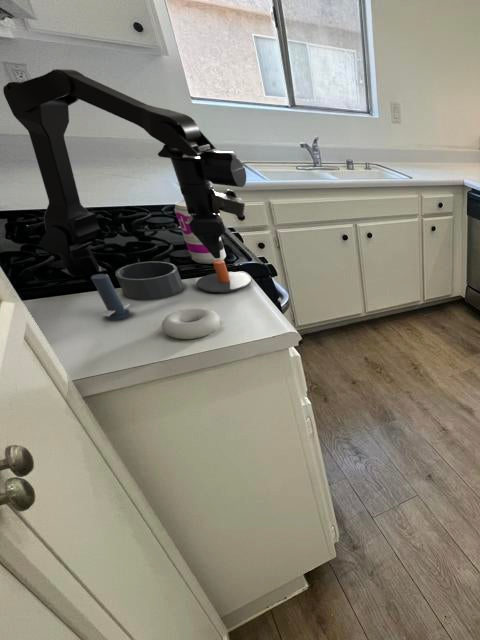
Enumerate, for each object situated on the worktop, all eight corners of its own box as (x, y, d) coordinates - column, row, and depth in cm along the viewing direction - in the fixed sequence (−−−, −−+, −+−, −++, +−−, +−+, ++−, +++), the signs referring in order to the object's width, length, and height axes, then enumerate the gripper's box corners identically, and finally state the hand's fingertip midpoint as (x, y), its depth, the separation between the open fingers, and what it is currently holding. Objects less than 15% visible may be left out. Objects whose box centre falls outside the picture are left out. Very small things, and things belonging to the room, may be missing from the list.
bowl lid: (187, 284, 102) (178, 261, 99) (233, 272, 111) (226, 249, 108) (217, 299, 99) (209, 274, 95) (262, 284, 107) (256, 262, 104)
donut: (153, 336, 84) (196, 346, 83) (145, 321, 82) (190, 331, 81) (193, 316, 92) (233, 324, 91) (187, 301, 90) (228, 309, 89)
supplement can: (208, 266, 112) (189, 209, 103) (184, 260, 114) (164, 202, 105) (233, 258, 118) (218, 203, 109) (211, 251, 120) (193, 197, 111)
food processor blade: (119, 324, 85) (98, 283, 80) (98, 323, 85) (76, 282, 80) (139, 309, 91) (121, 270, 86) (119, 308, 90) (100, 269, 85)
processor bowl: (114, 290, 96) (104, 269, 93) (166, 276, 105) (159, 257, 102) (141, 304, 93) (132, 284, 90) (193, 289, 101) (186, 270, 98)
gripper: (241, 191, 89) (259, 261, 98) (232, 172, 101) (248, 237, 110) (178, 192, 83) (203, 266, 92) (176, 172, 95) (198, 240, 104)
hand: (216, 251), depth 100 cm, fingers open, 9 cm apart
